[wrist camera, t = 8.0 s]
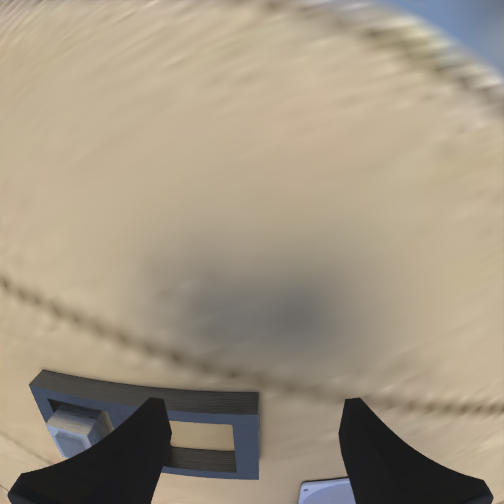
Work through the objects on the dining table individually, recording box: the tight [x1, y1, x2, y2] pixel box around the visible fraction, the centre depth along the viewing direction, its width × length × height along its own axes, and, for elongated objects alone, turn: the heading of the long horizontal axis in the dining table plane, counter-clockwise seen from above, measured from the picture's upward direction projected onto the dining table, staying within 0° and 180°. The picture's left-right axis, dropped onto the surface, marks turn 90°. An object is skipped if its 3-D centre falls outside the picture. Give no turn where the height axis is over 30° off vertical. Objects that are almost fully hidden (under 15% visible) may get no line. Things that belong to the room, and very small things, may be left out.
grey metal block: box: [46, 402, 114, 459], centre depth 21 cm, size 4×4×5 cm
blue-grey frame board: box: [29, 370, 259, 480], centre depth 22 cm, size 8×19×2 cm, turn 91°
